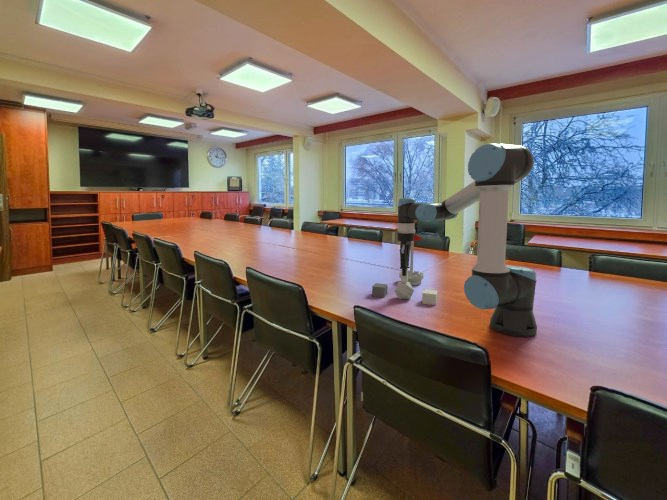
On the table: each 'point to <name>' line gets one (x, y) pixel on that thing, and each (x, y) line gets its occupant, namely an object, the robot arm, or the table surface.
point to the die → (404, 290)
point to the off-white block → (429, 297)
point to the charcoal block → (379, 290)
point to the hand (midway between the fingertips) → (404, 282)
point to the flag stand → (412, 277)
